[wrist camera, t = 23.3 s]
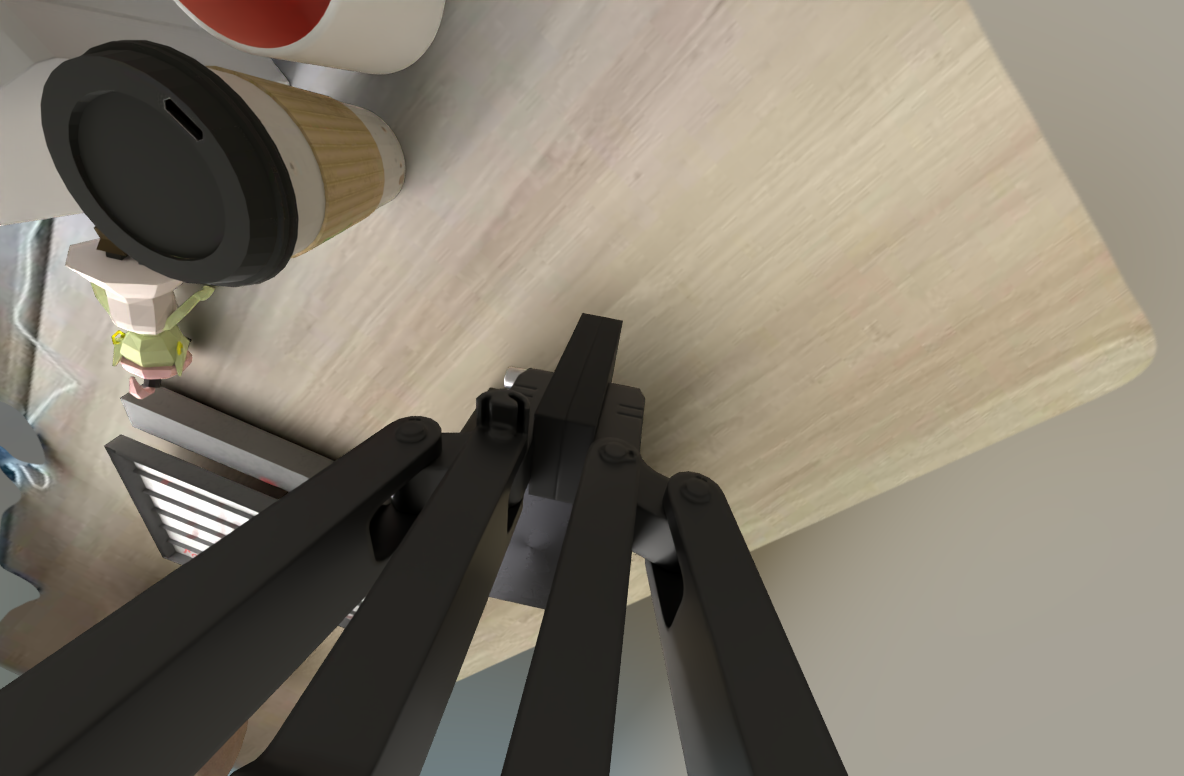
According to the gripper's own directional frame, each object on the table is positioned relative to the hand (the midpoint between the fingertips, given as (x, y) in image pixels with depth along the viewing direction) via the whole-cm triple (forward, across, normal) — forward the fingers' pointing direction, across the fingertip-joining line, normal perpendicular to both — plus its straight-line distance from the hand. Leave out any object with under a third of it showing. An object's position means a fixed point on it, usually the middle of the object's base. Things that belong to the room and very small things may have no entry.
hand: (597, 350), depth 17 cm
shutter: (+17, -36, -41) cm, 57 cm away
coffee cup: (+17, -20, +3) cm, 26 cm away
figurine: (+17, -40, -11) cm, 45 cm away
